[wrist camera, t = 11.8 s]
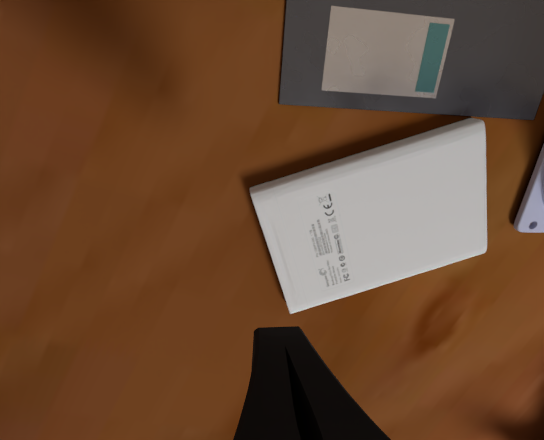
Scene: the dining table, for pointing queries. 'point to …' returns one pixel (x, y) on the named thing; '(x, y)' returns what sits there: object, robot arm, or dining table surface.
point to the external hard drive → (377, 214)
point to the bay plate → (415, 56)
